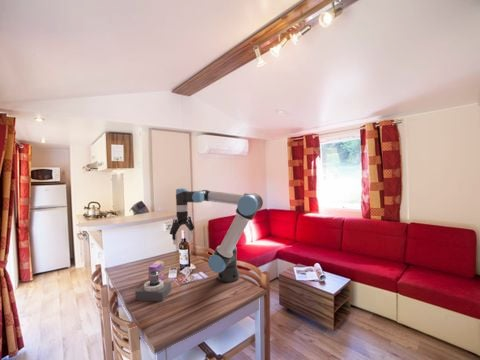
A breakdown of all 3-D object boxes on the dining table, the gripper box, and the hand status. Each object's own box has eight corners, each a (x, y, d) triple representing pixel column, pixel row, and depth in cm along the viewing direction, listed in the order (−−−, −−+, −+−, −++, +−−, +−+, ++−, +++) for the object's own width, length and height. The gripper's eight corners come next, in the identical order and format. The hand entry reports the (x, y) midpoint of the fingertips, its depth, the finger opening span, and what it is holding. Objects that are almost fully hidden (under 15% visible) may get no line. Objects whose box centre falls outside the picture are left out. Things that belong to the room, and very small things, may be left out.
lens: (155, 284, 139) (155, 269, 139) (160, 286, 136) (160, 270, 136) (147, 287, 134) (147, 271, 135) (152, 289, 132) (152, 273, 132)
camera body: (171, 290, 140) (170, 279, 140) (162, 301, 128) (162, 288, 128) (146, 289, 142) (146, 278, 142) (135, 300, 130) (135, 287, 130)
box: (156, 285, 148) (155, 267, 148) (148, 284, 149) (148, 266, 149) (164, 278, 158) (164, 261, 158) (157, 277, 159) (156, 260, 159)
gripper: (191, 208, 167) (192, 237, 167) (163, 213, 146) (164, 245, 147) (198, 208, 163) (199, 238, 163) (171, 213, 142) (172, 247, 142)
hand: (182, 241), depth 155 cm, fingers open, 13 cm apart
